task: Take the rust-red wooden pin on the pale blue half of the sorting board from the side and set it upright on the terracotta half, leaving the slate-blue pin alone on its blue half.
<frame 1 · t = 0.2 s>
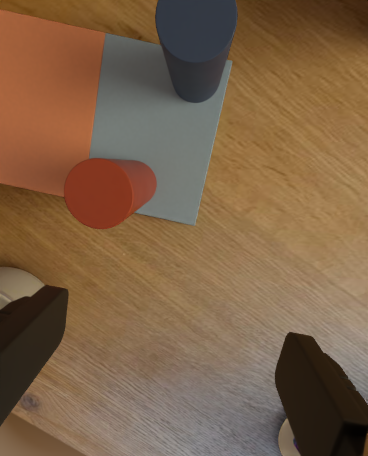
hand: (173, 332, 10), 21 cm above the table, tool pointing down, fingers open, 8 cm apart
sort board: (96, 123, 29), on the table
pudding: (323, 432, 36), on the table
rust pin: (134, 183, 29), point 1 cm above the table, touching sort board
blue pin: (196, 76, 27), point 1 cm above the table, touching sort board
teacup: (21, 310, 34), on the table
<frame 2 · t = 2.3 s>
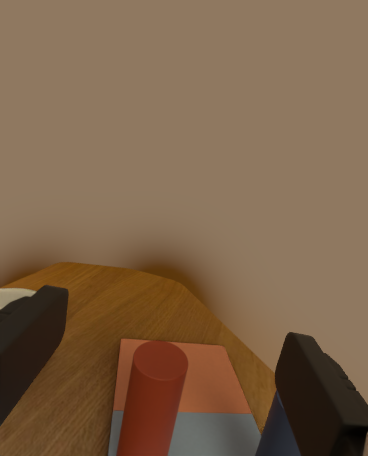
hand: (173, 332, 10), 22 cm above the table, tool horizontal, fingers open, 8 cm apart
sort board: (184, 419, 32), on the table
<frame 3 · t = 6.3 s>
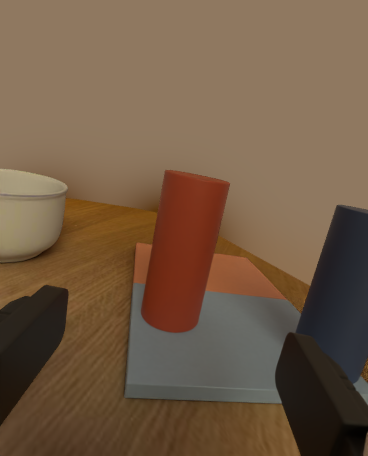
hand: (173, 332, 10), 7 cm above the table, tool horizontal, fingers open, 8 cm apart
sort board: (212, 300, 28), on the table
rust pin: (169, 315, 22), point 1 cm above the table, touching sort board
blue pin: (323, 359, 20), point 1 cm above the table, touching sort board
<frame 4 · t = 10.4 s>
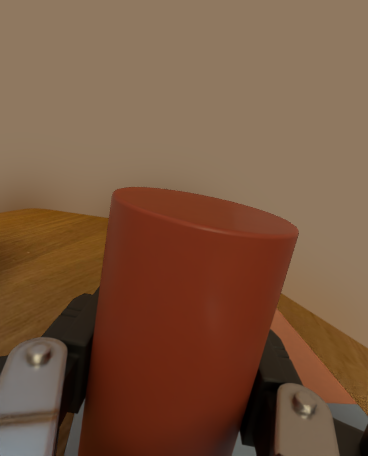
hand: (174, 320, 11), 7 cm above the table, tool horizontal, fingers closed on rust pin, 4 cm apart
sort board: (227, 413, 16), on the table
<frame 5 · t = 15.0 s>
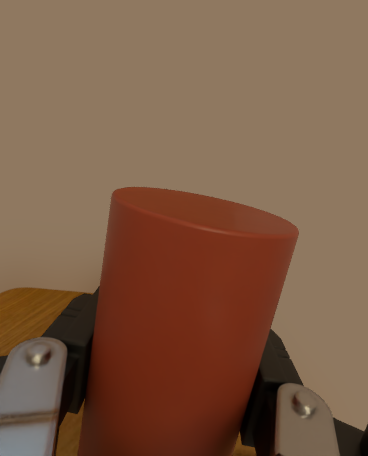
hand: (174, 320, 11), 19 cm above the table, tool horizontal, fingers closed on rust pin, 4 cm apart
when the fingers open (7 cm above the table, at t = 20.0 s): rust pin stays where it is, resting on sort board.
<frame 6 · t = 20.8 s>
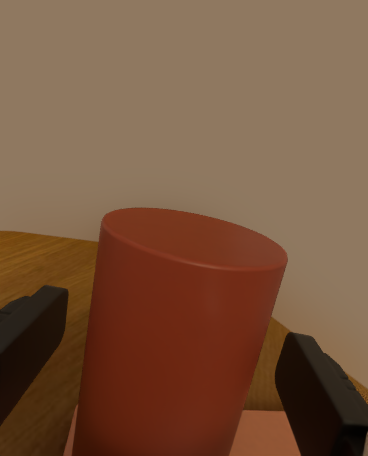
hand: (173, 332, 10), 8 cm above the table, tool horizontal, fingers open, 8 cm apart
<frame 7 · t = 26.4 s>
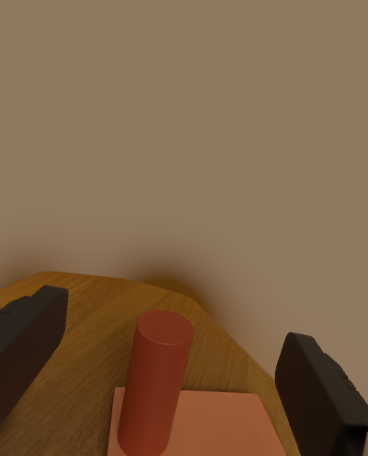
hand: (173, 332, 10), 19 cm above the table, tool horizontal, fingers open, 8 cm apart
rust pin: (143, 433, 25), point 1 cm above the table, touching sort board
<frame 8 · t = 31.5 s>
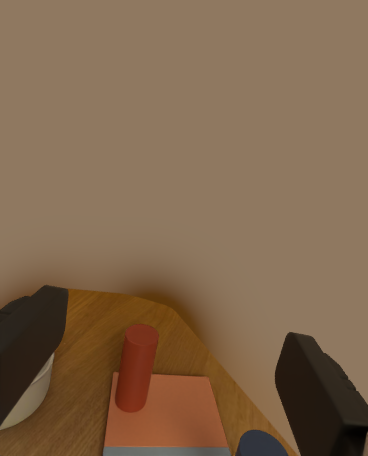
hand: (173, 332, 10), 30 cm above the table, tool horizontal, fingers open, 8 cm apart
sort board: (167, 452, 36), on the table
rust pin: (130, 399, 41), point 1 cm above the table, touching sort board
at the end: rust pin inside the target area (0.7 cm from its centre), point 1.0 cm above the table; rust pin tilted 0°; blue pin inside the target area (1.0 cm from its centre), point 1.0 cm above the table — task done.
